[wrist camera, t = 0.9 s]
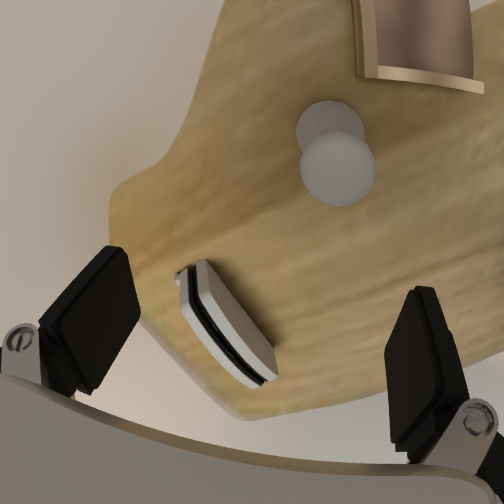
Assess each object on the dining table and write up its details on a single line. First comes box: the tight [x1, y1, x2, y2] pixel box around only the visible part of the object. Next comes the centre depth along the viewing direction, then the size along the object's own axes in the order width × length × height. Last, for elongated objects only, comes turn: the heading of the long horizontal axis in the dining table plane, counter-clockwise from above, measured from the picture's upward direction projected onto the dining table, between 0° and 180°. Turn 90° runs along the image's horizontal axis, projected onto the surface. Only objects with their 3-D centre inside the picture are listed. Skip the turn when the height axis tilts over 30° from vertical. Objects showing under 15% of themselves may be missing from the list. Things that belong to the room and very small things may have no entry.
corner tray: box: [351, 0, 484, 94], centre depth 18 cm, size 11×11×5 cm
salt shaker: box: [295, 100, 375, 207], centre depth 21 cm, size 6×6×13 cm
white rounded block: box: [174, 259, 279, 389], centre depth 37 cm, size 17×5×10 cm, turn 31°
